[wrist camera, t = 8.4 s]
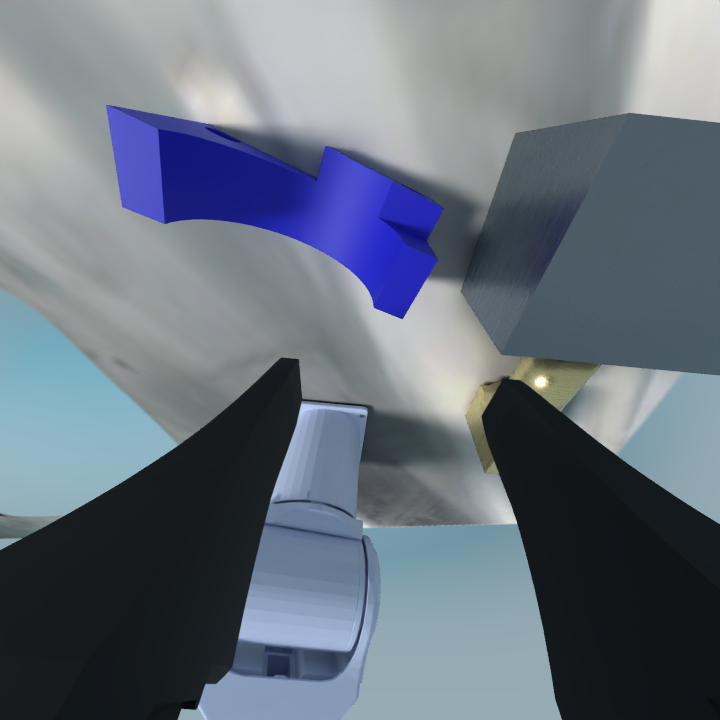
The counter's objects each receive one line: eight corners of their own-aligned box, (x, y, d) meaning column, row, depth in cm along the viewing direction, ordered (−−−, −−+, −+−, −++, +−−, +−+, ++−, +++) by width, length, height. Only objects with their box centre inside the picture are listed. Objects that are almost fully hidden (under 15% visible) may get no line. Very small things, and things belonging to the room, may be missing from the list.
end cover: (514, 420, 24) (546, 480, 20) (455, 414, 24) (474, 474, 20) (581, 325, 18) (653, 383, 13) (502, 317, 18) (546, 373, 13)
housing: (629, 316, 18) (743, 388, 12) (457, 300, 18) (495, 364, 12) (759, 159, 12) (1066, 160, 7) (515, 133, 12) (629, 113, 7)
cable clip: (432, 199, 14) (460, 221, 10) (395, 273, 17) (402, 319, 12) (206, 82, 12) (94, 34, 7) (204, 190, 14) (122, 207, 10)
